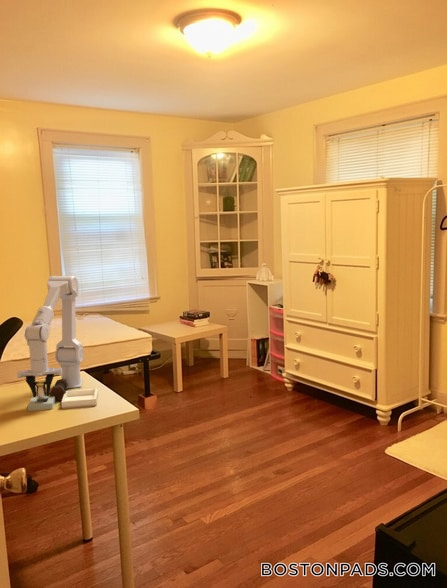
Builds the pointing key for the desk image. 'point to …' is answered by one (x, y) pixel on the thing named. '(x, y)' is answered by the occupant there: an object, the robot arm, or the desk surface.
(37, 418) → the desk surface
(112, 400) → the desk surface
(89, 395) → the tray
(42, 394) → the pin
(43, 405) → the grey square socket block
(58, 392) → the dark brown faceted bar
